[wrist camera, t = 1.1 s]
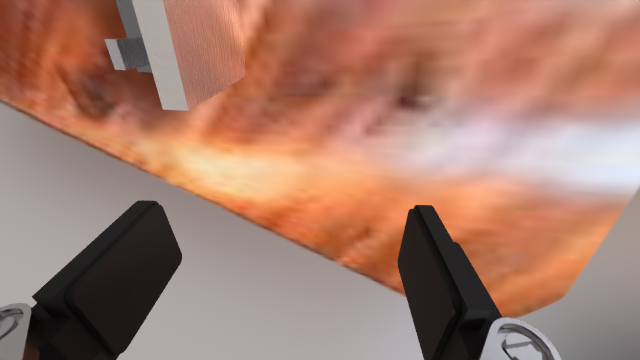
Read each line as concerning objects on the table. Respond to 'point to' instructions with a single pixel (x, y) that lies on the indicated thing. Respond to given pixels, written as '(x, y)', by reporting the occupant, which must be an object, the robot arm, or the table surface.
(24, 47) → the table surface
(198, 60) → the white boxy piece
